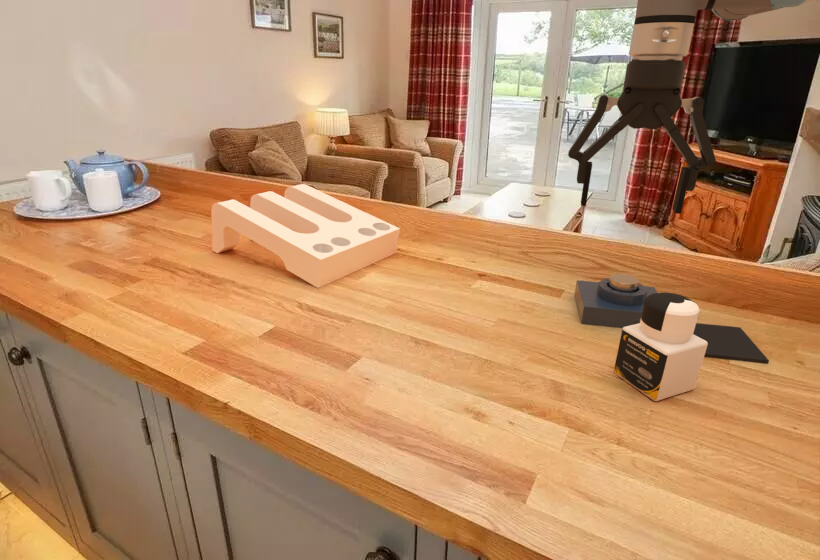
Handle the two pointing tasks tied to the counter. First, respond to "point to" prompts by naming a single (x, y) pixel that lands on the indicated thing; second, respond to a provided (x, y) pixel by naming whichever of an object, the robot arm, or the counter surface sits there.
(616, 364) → the medicine bottle
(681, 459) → the counter surface
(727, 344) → the mat
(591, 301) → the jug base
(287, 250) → the bracket
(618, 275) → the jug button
